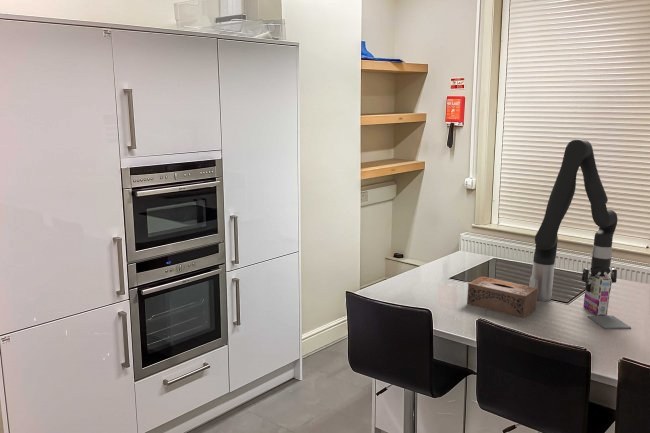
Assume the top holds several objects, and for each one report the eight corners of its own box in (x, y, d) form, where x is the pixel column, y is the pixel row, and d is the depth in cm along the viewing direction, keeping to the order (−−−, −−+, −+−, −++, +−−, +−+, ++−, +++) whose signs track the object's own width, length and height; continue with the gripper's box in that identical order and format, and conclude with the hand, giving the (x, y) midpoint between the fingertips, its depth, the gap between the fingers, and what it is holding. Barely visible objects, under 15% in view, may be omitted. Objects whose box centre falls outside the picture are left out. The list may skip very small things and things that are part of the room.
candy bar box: (607, 315, 237) (612, 279, 234) (596, 315, 237) (601, 279, 234) (593, 306, 248) (597, 271, 245) (582, 306, 248) (586, 271, 245)
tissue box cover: (466, 304, 249) (468, 283, 247) (480, 296, 260) (481, 276, 258) (523, 318, 233) (525, 296, 231) (535, 309, 244) (537, 288, 242)
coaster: (604, 328, 223) (604, 327, 223) (587, 316, 235) (587, 315, 235) (630, 328, 223) (631, 327, 223) (612, 316, 236) (613, 315, 236)
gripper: (590, 258, 234) (586, 294, 237) (622, 257, 235) (618, 294, 238) (581, 253, 241) (577, 289, 244) (612, 253, 242) (608, 288, 245)
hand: (597, 291), depth 241 cm, fingers open, 8 cm apart
